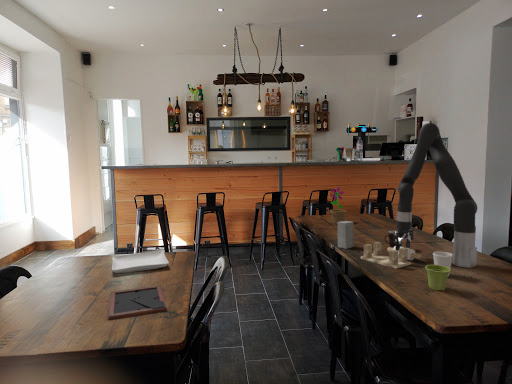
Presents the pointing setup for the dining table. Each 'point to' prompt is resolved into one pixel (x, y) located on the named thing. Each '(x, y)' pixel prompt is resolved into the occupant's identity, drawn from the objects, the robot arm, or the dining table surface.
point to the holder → (386, 260)
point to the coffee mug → (391, 243)
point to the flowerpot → (338, 214)
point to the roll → (410, 253)
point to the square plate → (139, 262)
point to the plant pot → (437, 276)
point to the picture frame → (136, 302)
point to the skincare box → (345, 234)
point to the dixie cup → (443, 259)
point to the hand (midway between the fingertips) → (402, 249)
